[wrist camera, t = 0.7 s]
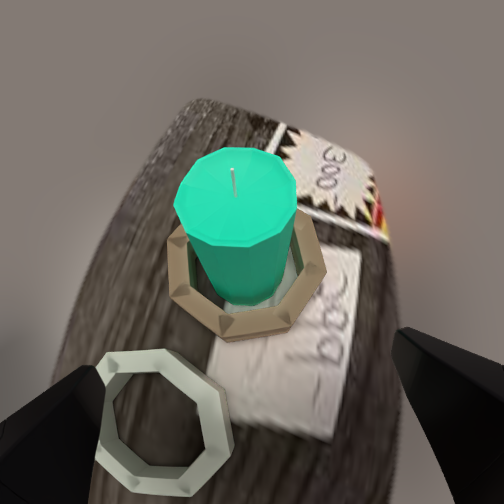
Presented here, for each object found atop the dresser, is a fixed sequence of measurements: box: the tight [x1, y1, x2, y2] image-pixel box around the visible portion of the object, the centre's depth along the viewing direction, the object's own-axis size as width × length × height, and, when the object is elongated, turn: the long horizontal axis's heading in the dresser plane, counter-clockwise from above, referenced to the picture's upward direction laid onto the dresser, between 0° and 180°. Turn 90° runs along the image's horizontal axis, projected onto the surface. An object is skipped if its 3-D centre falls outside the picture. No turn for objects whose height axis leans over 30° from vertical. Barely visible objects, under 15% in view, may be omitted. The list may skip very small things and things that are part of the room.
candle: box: [173, 147, 297, 306], centre depth 17 cm, size 6×6×12 cm
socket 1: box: [95, 349, 235, 497], centre depth 16 cm, size 11×11×3 cm
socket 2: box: [167, 209, 327, 342], centre depth 21 cm, size 11×11×3 cm
